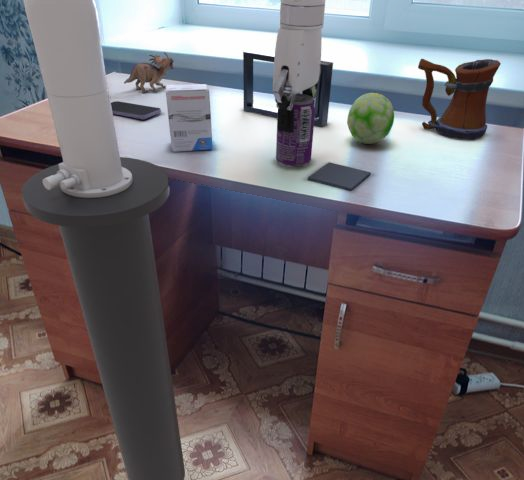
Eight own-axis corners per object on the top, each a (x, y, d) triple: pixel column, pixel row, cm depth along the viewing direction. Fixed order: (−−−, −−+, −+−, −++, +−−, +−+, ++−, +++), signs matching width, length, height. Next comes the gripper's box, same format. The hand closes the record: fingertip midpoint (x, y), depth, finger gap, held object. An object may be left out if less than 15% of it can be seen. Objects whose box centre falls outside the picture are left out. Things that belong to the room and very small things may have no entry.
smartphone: (116, 100, 129) (162, 108, 123) (116, 105, 129) (163, 113, 124) (95, 107, 124) (143, 116, 118) (96, 112, 124) (143, 121, 119)
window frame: (321, 127, 118) (327, 65, 110) (243, 110, 127) (243, 51, 118) (327, 123, 120) (333, 62, 112) (249, 107, 129) (250, 49, 120)
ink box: (210, 142, 110) (207, 82, 102) (212, 150, 106) (209, 89, 98) (170, 143, 108) (164, 83, 100) (171, 152, 105) (165, 90, 97)
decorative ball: (340, 135, 114) (345, 87, 108) (382, 134, 115) (391, 87, 108) (350, 151, 107) (356, 100, 100) (395, 150, 108) (405, 100, 101)
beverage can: (313, 157, 104) (318, 94, 96) (307, 170, 99) (312, 105, 91) (279, 154, 105) (282, 91, 97) (272, 166, 100) (274, 101, 92)
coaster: (351, 191, 92) (351, 188, 92) (307, 179, 95) (307, 177, 95) (370, 174, 98) (370, 172, 97) (328, 164, 101) (328, 162, 101)
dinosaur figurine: (175, 86, 142) (172, 49, 136) (176, 92, 138) (173, 53, 132) (125, 88, 140) (120, 49, 134) (125, 93, 136) (119, 54, 130)
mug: (405, 135, 115) (420, 61, 105) (406, 119, 123) (419, 50, 114) (487, 143, 112) (510, 67, 102) (482, 126, 121) (503, 55, 111)
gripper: (306, 8, 92) (300, 110, 104) (255, 20, 81) (254, 134, 93) (343, 12, 89) (332, 117, 101) (296, 26, 78) (290, 142, 90)
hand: (295, 124), depth 97 cm, fingers closed on beverage can, 7 cm apart
